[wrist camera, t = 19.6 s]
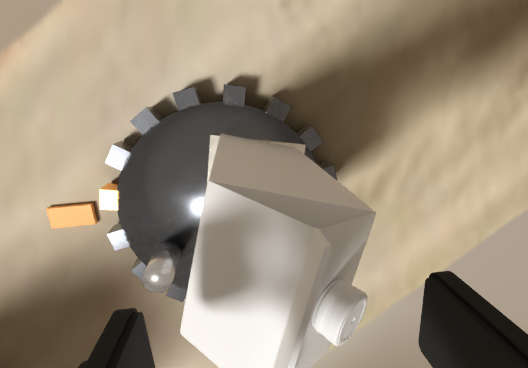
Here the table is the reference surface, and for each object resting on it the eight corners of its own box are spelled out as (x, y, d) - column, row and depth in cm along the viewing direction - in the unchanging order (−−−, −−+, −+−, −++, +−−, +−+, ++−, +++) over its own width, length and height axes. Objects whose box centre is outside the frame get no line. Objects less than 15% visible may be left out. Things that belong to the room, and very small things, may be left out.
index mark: (93, 202, 29) (90, 204, 28) (97, 222, 29) (95, 224, 29) (48, 207, 28) (45, 209, 28) (54, 226, 29) (51, 228, 28)
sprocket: (370, 211, 32) (403, 239, 26) (213, 328, 34) (210, 379, 28) (239, 31, 26) (242, 11, 19) (57, 188, 28) (8, 214, 22)
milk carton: (205, 209, 27) (158, 432, 9) (220, 132, 26) (196, 224, 7) (280, 221, 29) (367, 442, 10) (299, 149, 27) (444, 264, 9)
